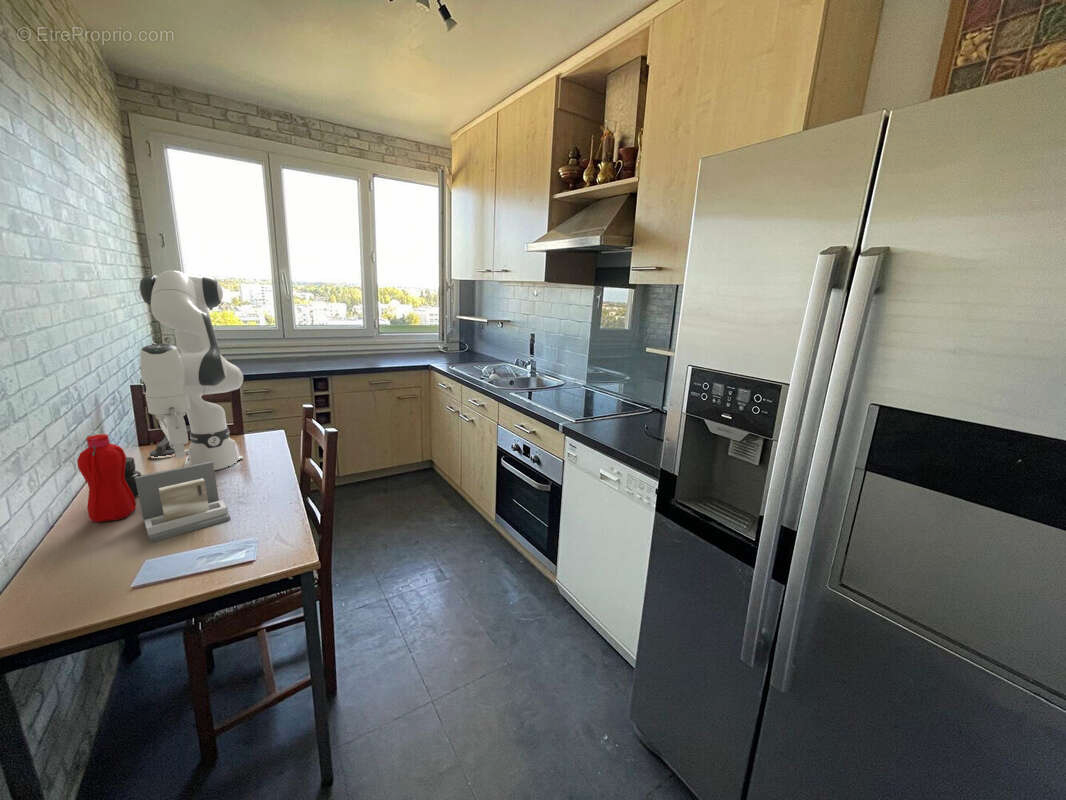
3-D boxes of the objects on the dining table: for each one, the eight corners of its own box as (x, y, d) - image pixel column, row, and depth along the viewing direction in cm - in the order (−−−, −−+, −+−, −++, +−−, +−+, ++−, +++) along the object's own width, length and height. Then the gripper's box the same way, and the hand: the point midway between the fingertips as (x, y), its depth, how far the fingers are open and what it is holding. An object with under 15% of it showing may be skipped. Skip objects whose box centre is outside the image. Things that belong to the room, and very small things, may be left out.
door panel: (165, 524, 122) (158, 488, 120) (208, 512, 129) (202, 478, 127) (166, 527, 120) (159, 491, 118) (210, 515, 127) (204, 481, 125)
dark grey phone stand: (195, 425, 195) (171, 442, 172) (197, 438, 196) (174, 458, 174) (170, 426, 192) (143, 444, 169) (173, 440, 193) (146, 460, 171)
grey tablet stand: (143, 521, 125) (134, 476, 122) (218, 502, 138) (211, 461, 135) (150, 542, 115) (140, 494, 112) (230, 519, 128) (223, 475, 124)
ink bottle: (107, 494, 141) (100, 460, 139) (143, 486, 147) (137, 453, 145) (108, 504, 135) (100, 468, 132) (145, 496, 141) (139, 461, 138)
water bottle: (82, 528, 121) (62, 444, 115) (101, 511, 131) (84, 432, 125) (124, 522, 124) (107, 440, 119) (140, 506, 134) (125, 429, 128)
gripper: (190, 410, 113) (198, 459, 116) (177, 395, 127) (185, 440, 130) (159, 414, 108) (168, 465, 112) (149, 399, 122) (157, 445, 125)
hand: (177, 452), depth 121 cm, fingers open, 8 cm apart
